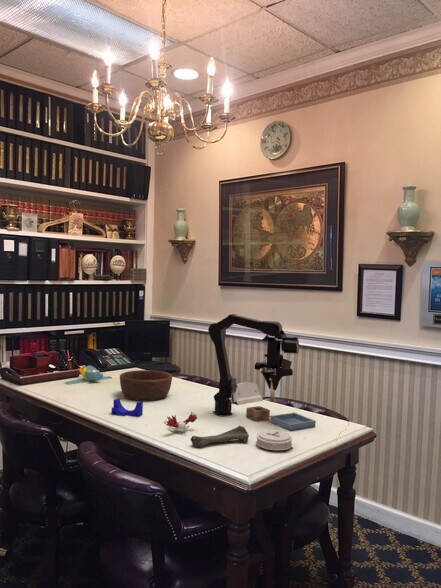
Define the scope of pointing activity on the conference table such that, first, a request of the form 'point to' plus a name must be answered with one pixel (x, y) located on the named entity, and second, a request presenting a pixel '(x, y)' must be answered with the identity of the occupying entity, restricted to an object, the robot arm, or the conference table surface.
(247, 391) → the hinge
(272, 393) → the brass pin
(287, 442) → the lid
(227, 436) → the bone
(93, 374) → the blue toy parrot
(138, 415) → the cable clip
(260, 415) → the pin block
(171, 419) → the figurine
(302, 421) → the tray
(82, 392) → the conference table surface
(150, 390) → the wooden bowl
